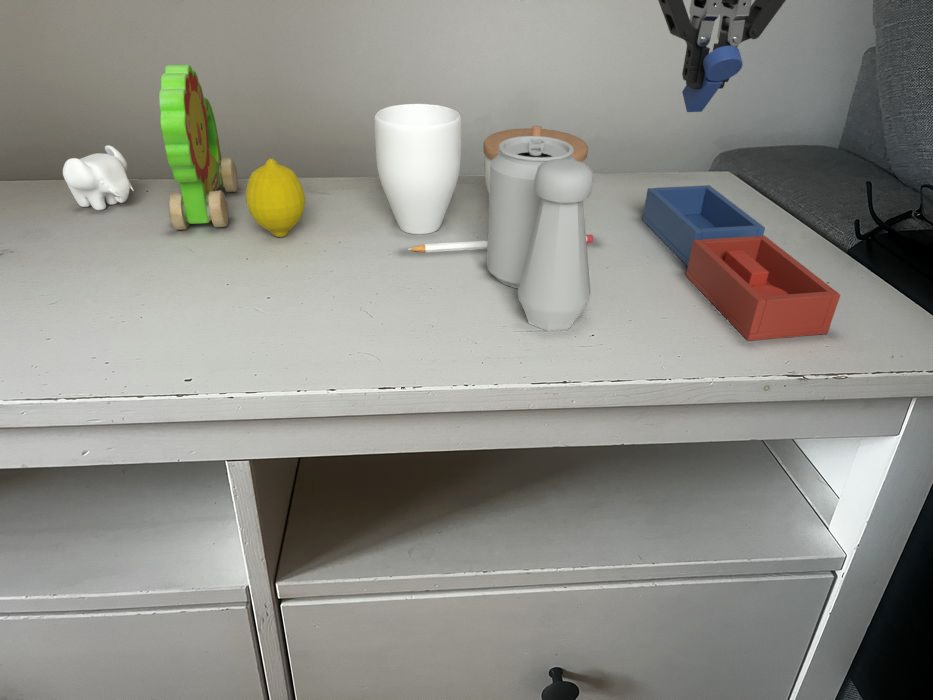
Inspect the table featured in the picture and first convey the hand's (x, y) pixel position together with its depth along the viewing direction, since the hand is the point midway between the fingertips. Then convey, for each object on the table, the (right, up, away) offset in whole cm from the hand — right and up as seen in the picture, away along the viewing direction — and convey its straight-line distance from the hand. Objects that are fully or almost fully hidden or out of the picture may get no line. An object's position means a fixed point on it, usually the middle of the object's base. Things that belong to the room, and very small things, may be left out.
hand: (704, 86), depth 68 cm
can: (-17, -18, -2) cm, 25 cm away
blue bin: (+1, -14, +5) cm, 15 cm away
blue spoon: (0, -1, -2) cm, 2 cm away
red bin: (+2, -21, -6) cm, 22 cm away
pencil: (-19, -15, +3) cm, 25 cm away
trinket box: (-16, -10, +10) cm, 21 cm away
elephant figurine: (-62, -10, +9) cm, 63 cm away
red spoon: (+2, -20, -6) cm, 21 cm away
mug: (-28, -11, +8) cm, 31 cm away
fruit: (-41, -14, +4) cm, 44 cm away
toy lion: (-50, -11, +8) cm, 52 cm away
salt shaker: (-16, -23, -9) cm, 29 cm away
